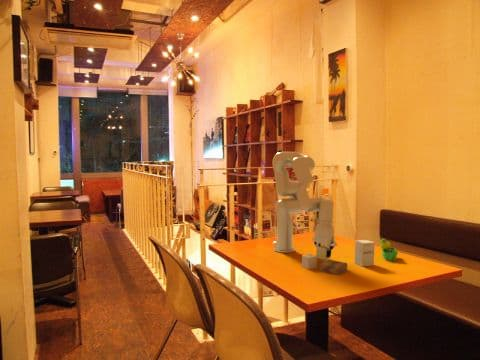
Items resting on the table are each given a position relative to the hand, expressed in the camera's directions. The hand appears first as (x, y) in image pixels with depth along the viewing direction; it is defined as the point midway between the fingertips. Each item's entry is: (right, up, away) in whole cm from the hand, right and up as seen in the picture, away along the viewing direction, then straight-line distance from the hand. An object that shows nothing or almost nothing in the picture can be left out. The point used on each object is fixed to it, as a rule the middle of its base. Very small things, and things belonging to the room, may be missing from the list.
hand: (323, 255), depth 205 cm
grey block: (-9, -5, -8) cm, 13 cm away
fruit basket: (+39, -4, +10) cm, 40 cm away
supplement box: (+21, -5, -2) cm, 22 cm away
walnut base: (+2, -5, -13) cm, 14 cm away
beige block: (0, -1, 0) cm, 1 cm away
